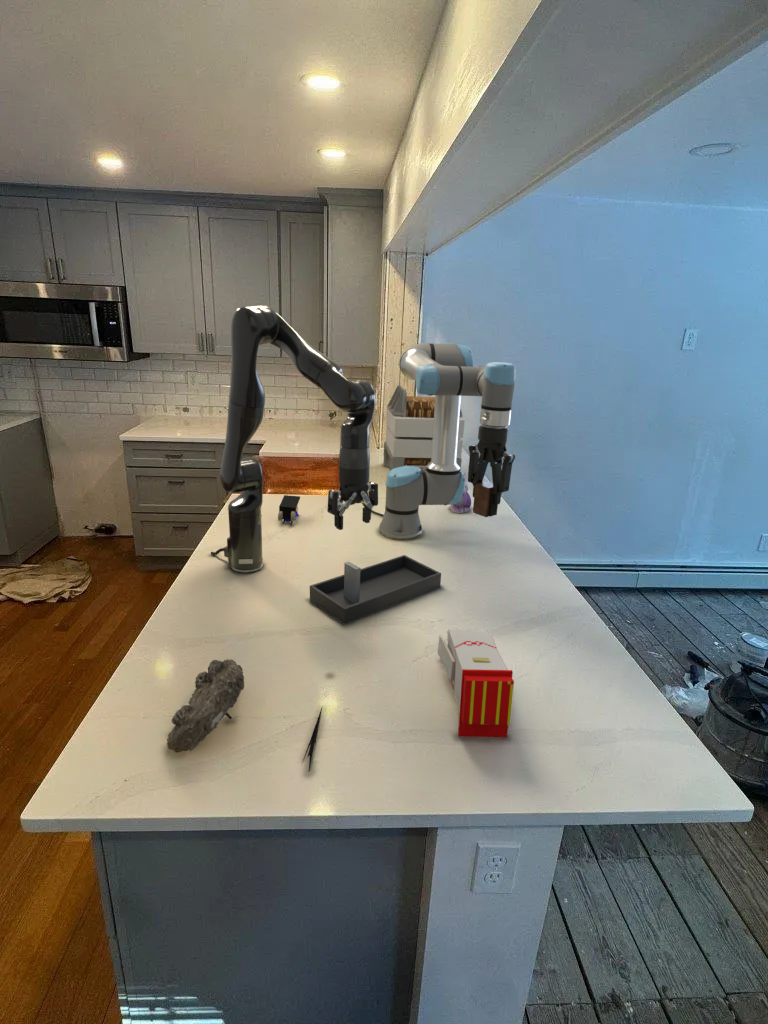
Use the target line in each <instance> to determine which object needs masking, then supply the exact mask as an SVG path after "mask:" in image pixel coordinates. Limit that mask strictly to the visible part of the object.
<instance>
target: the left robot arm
mask: <svg viewBox="0 0 768 1024" xmlns="http://www.w3.org/2000/svg"><path fill="white" fill-rule="evenodd" d="M230 326H231V327H230V334H231V335H230V338H231V339H230V340H231V341H230V342H231V345H230V346H231V369H230V386H229V395H228V406H227V420H226V421H227V423H226V433H225V439H224V446H223V452H222V455H221V456H222V457H221V461H220V468H219V478H220V484H221V487H222V488H223V490H224V491H225V492H226V493H228V494H235V493H240V494H239V495H238V496H236V497H235V498H233V499H232V500H231V501H230V502H229V503H228V506H227V511H228V513H227V514H228V531H229V536H228V537H227V538H226V546H225V547H222V548H221V547H220V548H218V549H217V550H216V551H215V552H214V551H210V555H211V556H217V555H219V554H220V553H221V552H223V557H225V558H227V566H228V569H231V570H232V571H234V572H237V573H241V574H243V573H254V572H256V571H260V570H261V569H262V568H263V567H264V558H263V527H262V505H263V501H264V500H263V498H264V495H263V493H264V472H263V467H262V464H261V463H260V460H258V459H257V458H256V457H253V456H247V457H243V454H244V451H245V449H246V447H247V445H248V444H249V442H250V440H251V439H252V438H253V437H254V435H255V434H256V433H257V431H258V430H259V428H260V426H261V424H262V422H263V419H264V415H265V414H264V413H265V405H266V393H265V389H264V386H263V384H262V382H261V378H260V376H259V372H258V369H257V363H258V362H257V360H258V353H259V348H260V347H259V346H260V345H266V344H271V345H272V346H274V347H277V348H279V349H280V350H282V352H284V353H285V354H286V355H287V356H288V357H289V358H290V360H291V361H292V363H293V365H294V367H295V368H296V370H297V372H299V373H300V374H301V375H302V377H304V378H305V379H306V380H308V381H309V382H310V383H311V384H313V385H314V386H316V387H317V388H319V389H320V390H322V391H323V393H324V395H325V396H326V397H327V398H328V399H329V400H330V401H331V402H332V404H334V405H335V406H336V407H337V408H338V409H340V410H341V411H343V412H345V413H347V418H346V419H345V420H344V422H342V424H341V426H340V435H339V436H340V438H339V439H340V441H339V443H340V444H339V453H338V483H339V487H338V489H332V488H331V489H328V493H327V494H328V496H327V510H326V511H327V513H328V514H330V515H333V516H334V517H333V518H334V519H333V520H334V523H333V524H334V527H335V528H336V529H337V530H339V531H342V530H344V514H345V512H346V510H348V509H349V508H350V506H353V505H355V504H361V505H362V506H363V507H362V516H361V517H362V519H361V520H362V522H363V523H365V524H369V523H370V522H371V519H372V512H371V510H373V507H375V506H378V505H379V485H378V483H376V482H374V481H370V467H371V466H370V464H371V463H370V461H371V453H370V428H371V424H372V422H373V418H374V412H375V408H376V392H375V388H374V386H373V385H372V383H370V382H369V381H367V380H364V379H358V380H349V379H348V378H347V377H345V376H344V371H343V369H342V367H341V366H340V365H339V364H337V362H335V361H333V360H332V359H330V357H328V356H327V355H325V354H323V353H322V352H321V351H320V350H318V349H316V348H315V347H314V346H313V345H312V344H311V343H309V342H308V341H307V339H305V338H303V337H302V336H301V335H300V334H299V333H298V332H297V330H296V329H294V328H293V327H292V326H291V325H290V323H288V322H287V321H286V320H285V319H284V318H283V317H282V316H281V315H280V314H279V313H278V312H277V311H276V310H275V309H274V308H273V307H271V306H269V305H266V304H256V305H255V304H254V305H245V306H241V307H239V308H237V309H236V310H235V311H234V313H233V315H232V319H231V325H230ZM366 493H368V497H369V498H368V497H367V495H366Z"/></svg>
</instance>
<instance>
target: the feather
mask: <svg viewBox="0 0 768 1024" xmlns="http://www.w3.org/2000/svg"><path fill="white" fill-rule="evenodd" d="M329 675H330V676H331V675H332V674H331V673H330V674H329ZM322 710H323V707H321V708H320V710H319V713H318V716H317V719H316V723H315V725H314V728H313V731H312V733H311V737H310V739H309V742H308V745H307V748H306V751H305V754H304V757H303V760H302V763H301V767H302V765H303V763H304V761H305V758H308V759H309V760H308V762H307V763H308V764H307V766H308V771H310V770H311V766H312V765H311V764H312V760H313V757H315V756H314V755H315V751H316V749H315V746H317V739H318V733H319V729H320V722H321V717H322V712H323V711H322ZM313 754H314V755H313ZM306 755H307V757H306Z"/></svg>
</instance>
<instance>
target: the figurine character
mask: <svg viewBox="0 0 768 1024" xmlns="http://www.w3.org/2000/svg"><path fill="white" fill-rule="evenodd" d="M300 499H301V495H287V494H284V495H283V497H282V500H281V502H280V504H279V506H278V514H277V521H279V522H282V523H281V525H283V526H284V525H285V524H286V523H290V524H289V525H290V526H292V525H293V523H294V522H295V521H296V519H297V517H299V513H298V511H299V507H298V504H299V502H300Z"/></svg>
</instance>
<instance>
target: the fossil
mask: <svg viewBox="0 0 768 1024" xmlns="http://www.w3.org/2000/svg"><path fill="white" fill-rule="evenodd" d="M243 670H244V669H243V667H242V665H240V664H237V662H236V661H235V660H234V659H232V658H231V659H227V658H226V659H224V660H223V661H222V660H217V659H212V660H211V661H210V663H209V665H208V666H207V671H201V672H199V673H198V674H197V675H196V676H195V680H194V684H195V685H194V687H195V689H194V690H193V693H192V694H191V697H190V698H189V700H188V704H184V705H182V706H181V707H180V709H177V710H176V711H175V713H174V715H173V716H172V718H171V723H172V724H173V727H172V730H171V731H170V732H168V734H167V738H166V741H167V742H166V745H167V749H168V750H169V751H173V752H174V753H176V754H178V753H182V752H188V751H189V752H192V751H193V750H195V748H196V747H197V746H199V744H200V743H201V742H203V741H204V740H205V739H206V738H207V737H208V736H209V735H210V734H211V733H212V732H214V730H215V729H217V727H218V726H219V724H220V722H221V721H222V720H223V719H224V718H225V716H226V717H227V719H229V720H233V717H232V715H230V714H229V710H230V709H231V708H234V706H235V704H236V703H237V702H238V699H239V697H240V695H241V693H242V691H243V690H245V689H244V688H245V675H244V671H243Z"/></svg>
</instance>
